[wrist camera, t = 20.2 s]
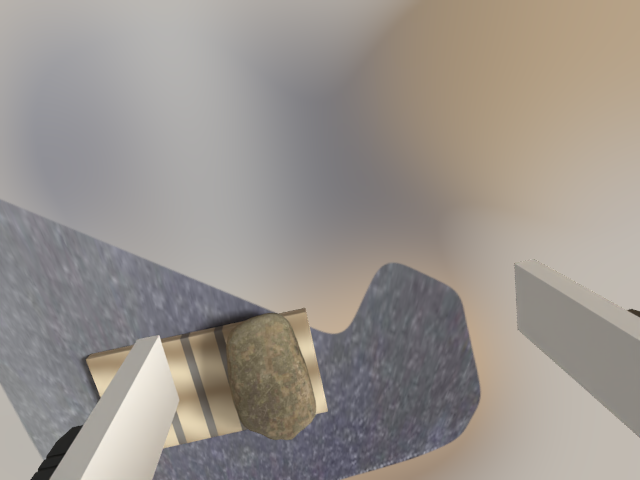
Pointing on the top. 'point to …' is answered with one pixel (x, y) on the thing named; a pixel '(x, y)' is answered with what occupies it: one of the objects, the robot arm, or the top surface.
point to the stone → (269, 377)
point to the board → (206, 378)
